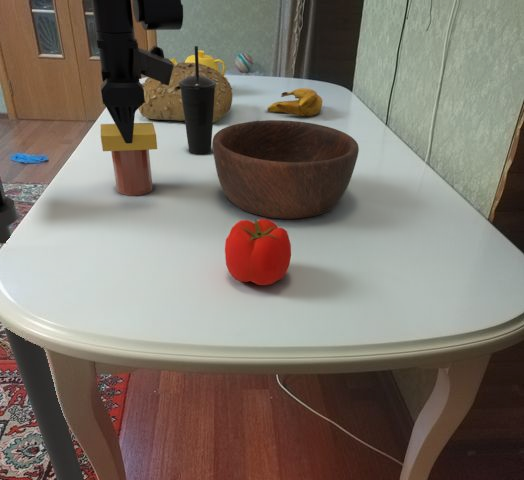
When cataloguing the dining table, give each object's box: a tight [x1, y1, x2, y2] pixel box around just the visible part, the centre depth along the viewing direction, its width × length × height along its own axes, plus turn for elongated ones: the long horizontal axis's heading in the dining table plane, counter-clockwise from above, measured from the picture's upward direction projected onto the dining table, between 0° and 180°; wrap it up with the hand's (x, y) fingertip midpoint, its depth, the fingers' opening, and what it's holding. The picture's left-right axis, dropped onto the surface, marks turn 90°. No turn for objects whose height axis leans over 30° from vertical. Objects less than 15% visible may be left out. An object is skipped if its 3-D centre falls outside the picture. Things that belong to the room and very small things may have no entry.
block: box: [100, 122, 158, 152], centre depth 87 cm, size 9×7×2 cm
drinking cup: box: [179, 45, 216, 156], centre depth 105 cm, size 8×8×20 cm
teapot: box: [169, 50, 229, 82], centre depth 151 cm, size 14×14×11 cm
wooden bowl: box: [211, 119, 360, 220], centre depth 89 cm, size 25×25×10 cm
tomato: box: [224, 218, 292, 286], centre depth 68 cm, size 9×9×8 cm
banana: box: [267, 87, 323, 117], centre depth 139 cm, size 15×19×6 cm
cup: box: [110, 150, 153, 197], centre depth 91 cm, size 6×6×8 cm
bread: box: [138, 61, 234, 123], centre depth 131 cm, size 24×21×12 cm
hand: (128, 136), depth 87 cm, fingers closed on block, 7 cm apart
